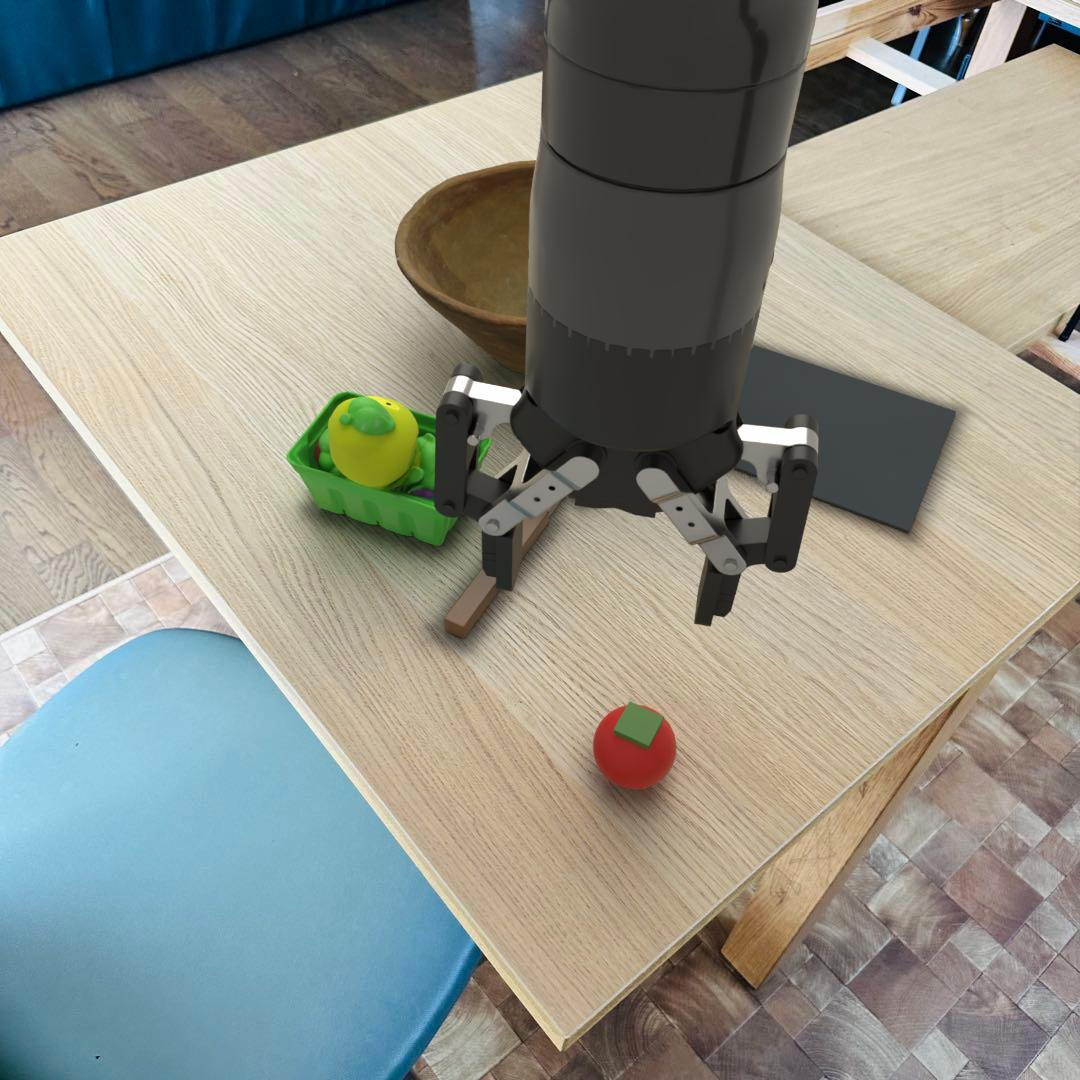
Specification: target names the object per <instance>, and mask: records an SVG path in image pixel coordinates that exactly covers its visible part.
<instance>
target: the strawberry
mask: <svg viewBox="0 0 1080 1080" xmlns="http://www.w3.org/2000/svg"><path fill="white" fill-rule="evenodd" d="M593 735H594V736H593V740H592V752H593V757H594V760H595V763H596V765H597V768H598V769H599V770H600V772H601V773H602V774H603V776H604V777H605V778H606V779H607V780H608V781H610V782H611V783H613V784H614V785H616V786H618V787H620V788H624V789H628V790H639V791H644V789H648V788H650V787H652V786H655V785H657V784H658V783H660V782H661V781H662V780H663V779H665V778H666V776H667V775H668V774H669V772H670V771H671V769H672V768H673V765H674V763H675V761H676V757H677V749H678V748H677V739H676V736H675V732H674V730H673V728H672V726H671V724H670V722H668V720H667V719H666V718H665V716H663V715H662V714H661V713H660V712H659V711H657V710H655V709H653V708H651V707H650V706H646V705H643V704H637V703H634V702H632V701H628V703H627V704H626V705H622V706H621V705H620V706H619V707H616V708H615V709H613V710H611V711H610V712H608V713H607V714H606V715H605V716H604V717H603V718H602V719H601V720H600V722H599V723H598V725H597V728H596V729H595V732H594V734H593Z"/></svg>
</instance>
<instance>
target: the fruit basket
mask: <svg viewBox="0 0 1080 1080" xmlns="http://www.w3.org/2000/svg"><path fill="white" fill-rule="evenodd" d="M435 433H436V416H434V415H431V414H427V413H424V412H421V411H416V410H414V409H411V408H407V407H406V406H405V405H404V404H402V403H400V402H399V401H396V400H394V399H391V398H387V397H382V396H377V395H376V396H374V395H367V396H366V395H364V394H360V393H356V392H353V391H341V392H337V393H336V394H334V395H333V396H331V398H330V399H329V400H328V402H327V403H326V405H325V406H324V407H323V408H322V410H321V411H320V412H319V413H318V414H317V415H316V417H315V419H314V420H313V421H312V422H311V423H310V424H309V426H307V428H306V430H304V431H303V433H302V434H301V435H300V436H299V438H298V439H297V440H296V441H295V442H294V444H293V445H292V446H291V448H289V450H288V451H287V453H286V457H285V458H286V460H287V462H288V463H289V465H290V466H291V467H292V469H293V470H294V471H295V472H296V473H297V474H298V475H299V477H300V479H301V480H302V481H303V483H304V485H305V486H306V488H307V490H308V491H309V493H310V495H311V496H312V499H314V501H315V503H316V505H317V506H318V508H320V509H322V510H324V511H326V512H327V511H328V512H331V513H334V514H338V515H345V514H346V516H347V517H349V518H350V519H353V520H355V521H359V522H361V523H365V524H368V525H374V526H378V525H379V526H380V527H382V529H384V530H387V531H390V532H393V533H396V534H398V535H401V536H407V537H408V536H409V537H414V538H416V539H418V541H421V542H424V543H427V544H429V545H433V546H437V547H440V546H442V545H443V543H444V542H445V540H446V537H447V533H448V532H450V531H451V530H452V529H453V527H454V525H455V524H456V522H457V520H458V519H459V517H455V518H450V517H446V516H443V515H441V514H440V513H439V512H438V511H437V510H436V509H435V507H434V482H435ZM492 442H493V439H492V436H491V437H490V438H489V439H487V440H482V441H480V442H479V457H478V471H480V472H481V468H482V465H483V462H484V460H485V458H486V457H487V455H488V453H489V450H490V448H491V445H492Z"/></svg>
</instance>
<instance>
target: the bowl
mask: <svg viewBox="0 0 1080 1080" xmlns="http://www.w3.org/2000/svg"><path fill="white" fill-rule="evenodd" d="M535 164H536V159H535V160H534V159H533V160H532V159H531V160H519V161H511V162H506V163H502V164H498V165H494V166H489V167H485V168H481V169H478V170H474V171H473V170H472V171H469V172H466V173H461V174H458V175H455V176H452V177H449V178H446V179H445V180H443V181H442V182H440V183H437V184H436V185H435V186H433V187H431V188H430V189H429V190H427V191H425V193H424V194H423V195H422V196H421V197H419V198H418V199H417V200H416V201H415V202H414V203H413V205H412V206H411V208H410V209H409V210H408V211H407V212H406V213H405V214H404V216H403V217H402V218H401V221H400V222H399V224H398V227H397V230H396V234H395V237H394V254H395V260H396V264H397V266H398V268H399V271H400V272H401V274H402V275H403V276H404V278H405V279H406V280H407V282H408V283H409V284H410V285H411V287H412V288H413V289H414V290H415V292H416V293H417V295H419V296H420V298H422V300H424V301H425V303H427V304H428V305H429V306H430V307H431V308H432V309H433V310H435V311H436V312H437V313H438V314H439V315H441V316H442V317H443V318H444V319H445V320H446V321H447V322H449V323H451V324H452V325H453V326H454V327H456V328H457V329H458V330H459V331H460V332H462V334H464V335H465V336H466V337H468V339H470V341H472V343H474V344H475V345H476V346H478V347H479V348H480V349H481V350H482V351H483V352H485V353H486V354H487V355H489V357H491V358H493V360H494V361H497V363H499V364H500V365H501V366H503V367H505V368H507V369H509V370H511V371H513V372H516V373H520V374H521V375H522V374H523V375H525V360H526V325H527V281H528V243H529V211H530V197H531V188H532V181H533V174H534V169H535Z"/></svg>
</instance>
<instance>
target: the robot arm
mask: <svg viewBox="0 0 1080 1080" xmlns="http://www.w3.org/2000/svg"><path fill="white" fill-rule="evenodd" d="M819 2H820V1H819V0H544V15H543V17H544V18H543V43H542V45H543V46H542V74H541V75H542V77H541V103H540V104H541V105H540V108H541V109H540V128H539V141H538V148H537V154H536V159H535V160H536V164H535V169H534V174H533V181H532V188H531V197H530V211H529V243H528V281H527V325H526V360H525V374H524V382H523V384H522V385H521V386H520V387H519V389H515V388H511V387H504V386H500V385H495V384H491V383H485V382H484V374H483V372H482V371H481V369H480V368H479V367H477V365H474V364H472V363H468V362H462V363H458V364H457V365H455V366H454V368H453V369H452V371H451V375H450V377H449V379H448V381H447V383H446V386H445V389H444V391H443V393H442V396H441V399H440V402H439V403H438V405H437V409H436V411H435V417H436V433H435V482H434V507H435V509H436V510H437V511H438V512H439V513H440V514H441V515H443V516H446V517H450V518H455V517H458V518H459V517H461V516H462V515H465V516H468V517H469V518H472V519H473V520H474V521H476V522H477V524H478V527H479V529H480V531H481V569H482V568H483V570H484V572H485V574H486V576H490V577H496V589H499V591H504V592H511V593H513V592H514V590H515V586H516V581H517V579H518V576H519V571H520V567H521V564H522V560H521V558H522V540H523V520H524V519H525V518H527V517H530V518H531V519H535V518H537V517H538V516H539V515H541V514H542V513H544V512H545V511H546V510H548V509H549V508H550V507H552V506H553V505H554V504H556V503H557V502H559V501H560V500H561V499H562V500H564V498H565V497H567V498H568V497H569V498H570V499H573V500H574V506H578V507H583V508H589V509H616V510H620V511H621V512H625V513H628V514H631V515H634V516H637V517H645V518H651V519H656V514H658V513H659V514H660V513H664V515H665V516H666V517H667V518H668V520H669V521H670V522H671V523H672V525H673V526H674V528H675V529H676V531H678V532H679V534H680V535H681V536H682V537H683V539H684V540H685V541H686V542H687V544H688V545H689V546H695V545H697V546H698V547H699V548H700V549H701V551H702V553H704V555H705V557H704V561H703V566H702V570H701V575H700V579H699V584H698V589H697V595H696V601H695V602H696V603H695V611H694V618H693V619H694V620H693V624H694V625H698V626H704V627H710V628H711V627H712V624H713V623H712V622H713V619H714V616H715V617H721V618H725V617H727V616H728V614H730V612H732V610H733V605H734V602H735V598H736V594H737V591H738V587H739V583H740V579H741V576H742V574H743V573H744V572H745V571H746V569H748V568H749V567H752V566H759V565H764V566H765V568H766V569H768V570H769V571H771V572H774V573H779V574H784V573H789V572H791V571H793V570H794V569H795V567H796V566H797V562H798V559H799V554H800V551H801V550H800V549H801V547H802V546H801V545H802V541H803V537H804V533H805V528H806V525H807V521H808V517H809V516H808V515H809V513H810V512H809V511H810V507H811V503H812V499H813V498H812V495H813V490H814V486H815V482H816V478H817V473H818V429H819V426H818V422H817V421H816V420H815V419H814V418H813V417H811V416H809V415H805V414H798V415H794V416H792V417H790V418H789V419H788V420H787V421H786V423H785V426H784V428H775V427H766V426H756V425H746V424H744V421H743V419H742V417H741V415H740V413H739V410H738V406H739V402H740V397H741V393H742V389H743V384H744V380H745V375H746V371H747V366H748V362H749V358H750V353H751V349H752V347H753V344H754V340H755V335H756V330H757V326H758V323H759V317H760V313H761V309H762V305H763V299H764V296H765V295H764V294H765V290H766V286H767V282H768V277H769V273H770V269H771V266H772V265H773V262H774V257H775V247H776V243H777V239H778V233H779V229H780V223H781V213H782V206H783V192H784V178H785V177H784V176H785V168H786V167H785V166H786V162H787V161H786V160H787V155H788V147H789V142H790V138H791V133H792V128H793V125H794V120H795V115H796V110H797V106H798V102H799V97H800V93H801V92H800V91H801V88H802V83H803V79H804V75H805V74H804V73H805V71H806V65H807V62H808V56H809V52H810V50H811V45H812V39H813V34H814V31H815V26H816V19H817V15H818V7H819ZM505 424H508V425H510V430H511V431H512V434H513V435H514V437H515V438H516V439H517V440H518V441H519V443H520V444H521V445H522V447H523V449H522V450H521V452H520V454H519V455H518V457H516V458H515V459H514V460H513V461H511V462H510V463H509V464H508V465H506V466H505V467H504V468H502V469H501V470H500V471H499V472H498V473H497V474H495V475H494V476H492V475H489V474H487V473H485V472H483V471H481V470H480V471H478V457H479V442H480V441H482V440H487V439H489V438H490V437H491V438H492V436H493V433H494V430H495V429H496V428H497V427H498V426H500V425H505ZM740 460H745V461H747V462H749V463H751V464H752V465H753V466H754V467H755V469H756V472H757V477H756V478H757V480H758V481H759V483H761V484H762V485H764V486H765V491H766V492H767V493H770V499H769V505H768V510H767V515H766V516H762V517H761V516H760V517H749V516H748V514H747V513H746V511H745V510H744V508H743V507H742V506H741V505H740V503H739V502H738V501H737V498H735V496H734V495H733V493H732V492H731V490H730V487H729V484H728V480H727V477H726V475H727V474H729V473H730V472H731V471H732V470H735V469H734V468H735V467H736V466H737V465H738V463H739V462H740ZM562 500H561V501H562ZM522 559H523V558H522Z"/></svg>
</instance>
